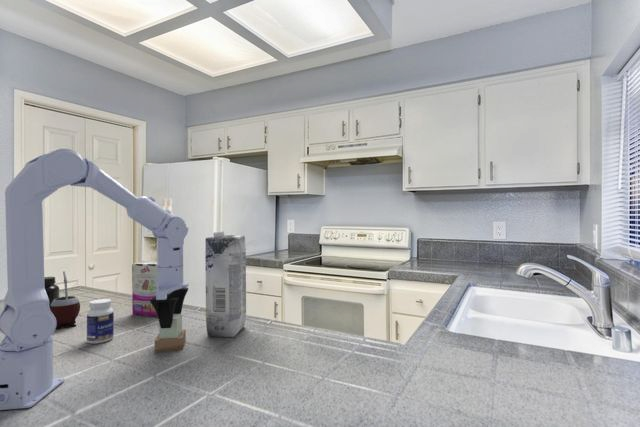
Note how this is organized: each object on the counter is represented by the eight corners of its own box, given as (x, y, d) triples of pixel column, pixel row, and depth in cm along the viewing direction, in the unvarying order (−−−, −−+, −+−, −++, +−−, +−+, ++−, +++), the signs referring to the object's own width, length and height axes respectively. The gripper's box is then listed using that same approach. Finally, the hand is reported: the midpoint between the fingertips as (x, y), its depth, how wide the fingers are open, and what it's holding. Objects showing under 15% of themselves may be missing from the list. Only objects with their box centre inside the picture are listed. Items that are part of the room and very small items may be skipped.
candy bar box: (171, 313, 110) (171, 262, 110) (160, 317, 105) (159, 264, 105) (143, 310, 113) (143, 261, 113) (131, 314, 108) (131, 263, 108)
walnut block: (182, 350, 80) (182, 337, 80) (154, 353, 78) (154, 340, 78) (185, 341, 86) (185, 329, 86) (159, 344, 84) (159, 332, 84)
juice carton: (248, 325, 96) (248, 230, 96) (236, 339, 86) (235, 232, 86) (218, 325, 97) (217, 230, 97) (202, 338, 87) (201, 232, 87)
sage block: (177, 337, 80) (176, 318, 80) (159, 338, 80) (158, 319, 80) (182, 331, 84) (181, 313, 84) (165, 332, 84) (164, 314, 84)
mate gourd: (65, 330, 94) (64, 276, 94) (40, 329, 95) (40, 275, 95) (87, 322, 101) (87, 271, 101) (64, 321, 102) (64, 271, 102)
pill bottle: (100, 345, 83) (100, 304, 83) (81, 343, 84) (80, 303, 84) (119, 336, 89) (118, 298, 89) (100, 335, 90) (100, 297, 90)
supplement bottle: (36, 314, 110) (36, 277, 110) (62, 311, 113) (62, 275, 113) (28, 320, 104) (28, 280, 104) (56, 317, 106) (56, 278, 107)
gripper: (179, 270, 75) (180, 331, 75) (194, 261, 90) (195, 313, 90) (146, 271, 74) (146, 333, 74) (166, 262, 89) (166, 314, 89)
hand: (171, 322), depth 82 cm, fingers open, 7 cm apart
